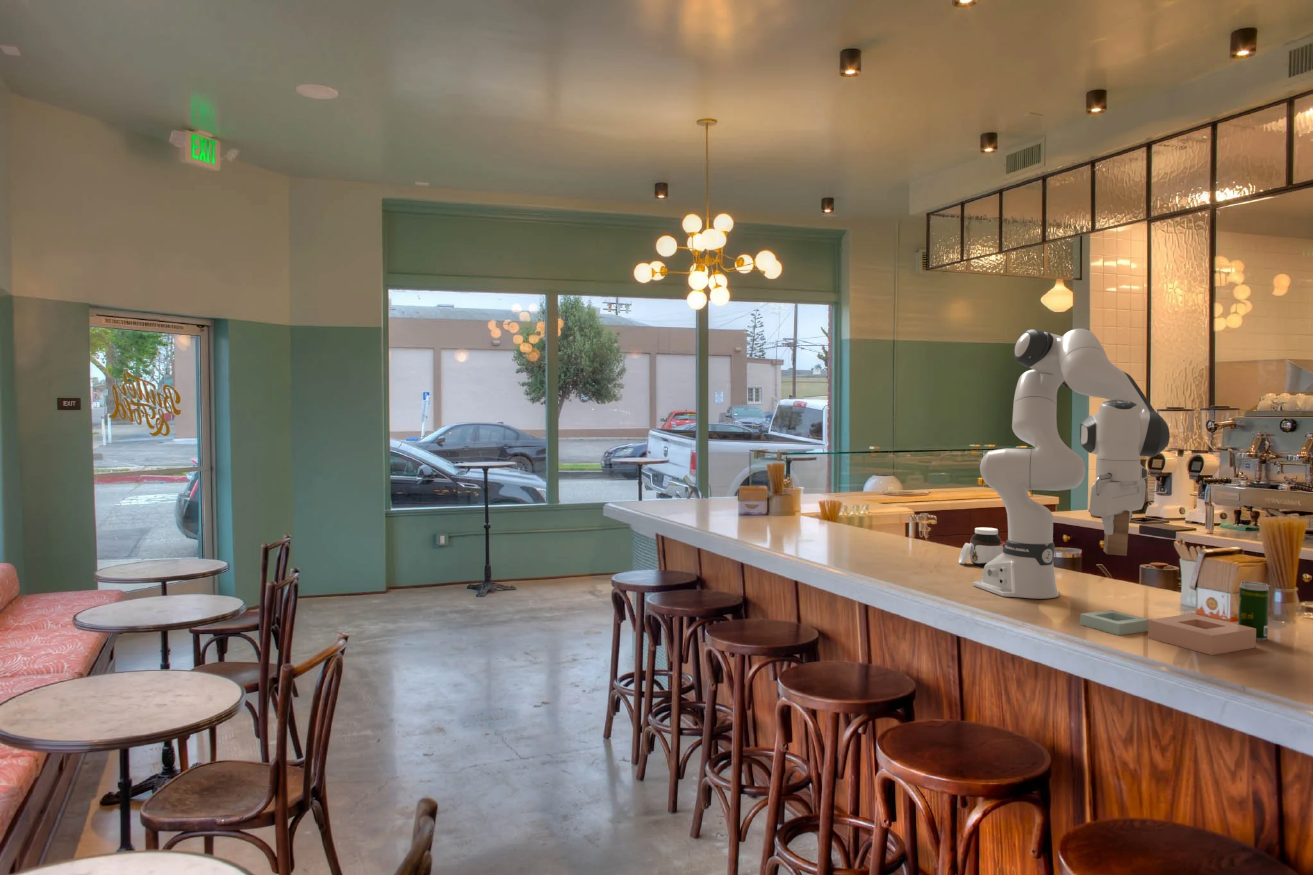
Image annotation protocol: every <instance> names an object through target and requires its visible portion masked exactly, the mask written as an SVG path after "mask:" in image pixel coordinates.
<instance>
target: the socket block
mask: <svg viewBox="0 0 1313 875" xmlns="http://www.w3.org/2000/svg"><path fill="white" fill-rule="evenodd" d="M1147 638H1148V639H1150V640H1154V639H1155V640H1154V641H1158V642H1161V641H1162V642H1161V643H1164V644H1165V643H1166V644H1168V643H1169V644H1168V645H1172V646H1176V647H1179V646H1180V648H1184V649H1187V650H1191V651H1194V652H1199V653H1202V654H1206V655H1209V656H1214V655H1221V654H1226V653H1232V652H1238V651H1243V650H1248V649H1254V648H1257V646H1256V645H1257V641H1256V628H1251V627H1247V626H1243V625H1239V624H1238V623H1235V622H1234V623H1233V622H1230V621H1224V620H1221V619H1215V618H1212V617H1209V616H1208V617H1207V616H1204V615H1199V614H1195V613H1188V614H1187V613H1185V614H1179V615H1174V616H1173V615H1172V616H1165V617H1160V618H1159V617H1158V618H1152V619H1150V620H1148V631H1147Z"/></svg>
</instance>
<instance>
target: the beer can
mask: <svg viewBox="0 0 1313 875" xmlns="http://www.w3.org/2000/svg"><path fill="white" fill-rule="evenodd" d="M1269 595H1270V588H1269V585H1268V583H1264V582H1261V581H1253V580H1252V581H1251V580H1250V581H1249V580H1242V581H1240V584H1239V586H1238V614H1237V615H1238V616H1237V617H1238V621H1237V624H1239V625H1243V626H1247V627H1251V628H1256V642H1261V641H1262V642H1265V641H1267V639H1268V636H1269V603H1270V602H1269V601H1270V600H1269V599H1270V597H1269Z"/></svg>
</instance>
